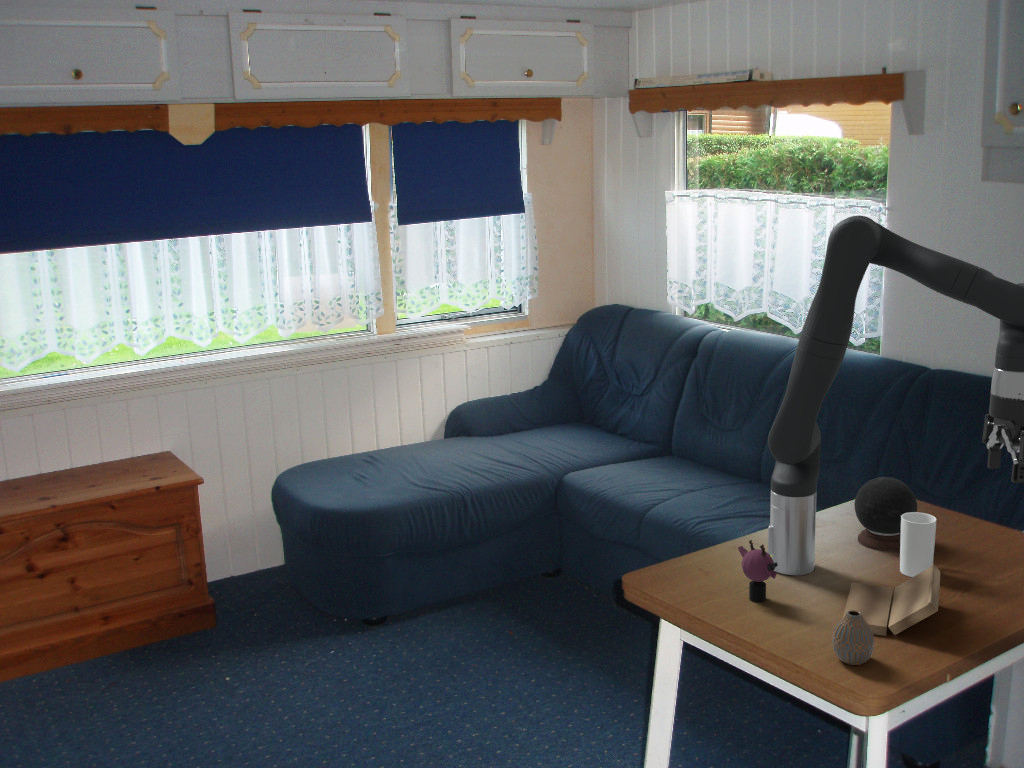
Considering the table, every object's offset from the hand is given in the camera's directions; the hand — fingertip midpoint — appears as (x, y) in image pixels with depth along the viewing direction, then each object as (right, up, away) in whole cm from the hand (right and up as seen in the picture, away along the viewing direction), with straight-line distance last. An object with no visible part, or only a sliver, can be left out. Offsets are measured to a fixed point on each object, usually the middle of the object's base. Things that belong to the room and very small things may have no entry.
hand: (1005, 475), depth 188 cm
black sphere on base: (-10, -18, +35) cm, 41 cm away
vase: (-34, -31, -16) cm, 49 cm away
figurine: (-45, -26, +9) cm, 52 cm away
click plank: (-18, -24, -3) cm, 29 cm away
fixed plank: (-25, -26, +2) cm, 37 cm away
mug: (-8, -22, +20) cm, 31 cm away
